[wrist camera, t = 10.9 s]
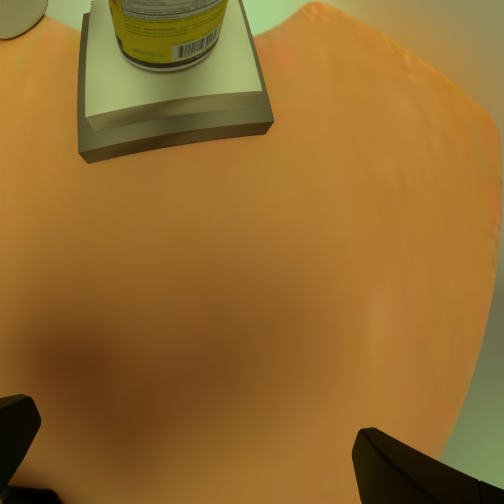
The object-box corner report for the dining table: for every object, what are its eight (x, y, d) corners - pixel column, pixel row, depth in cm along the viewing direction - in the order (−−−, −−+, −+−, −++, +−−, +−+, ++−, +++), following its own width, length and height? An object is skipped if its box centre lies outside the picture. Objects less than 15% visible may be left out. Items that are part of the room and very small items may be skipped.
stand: (87, 163, 17) (67, 140, 13) (88, 30, 17) (78, -5, 13) (265, 134, 19) (284, 106, 15) (234, 10, 19) (245, -25, 15)
